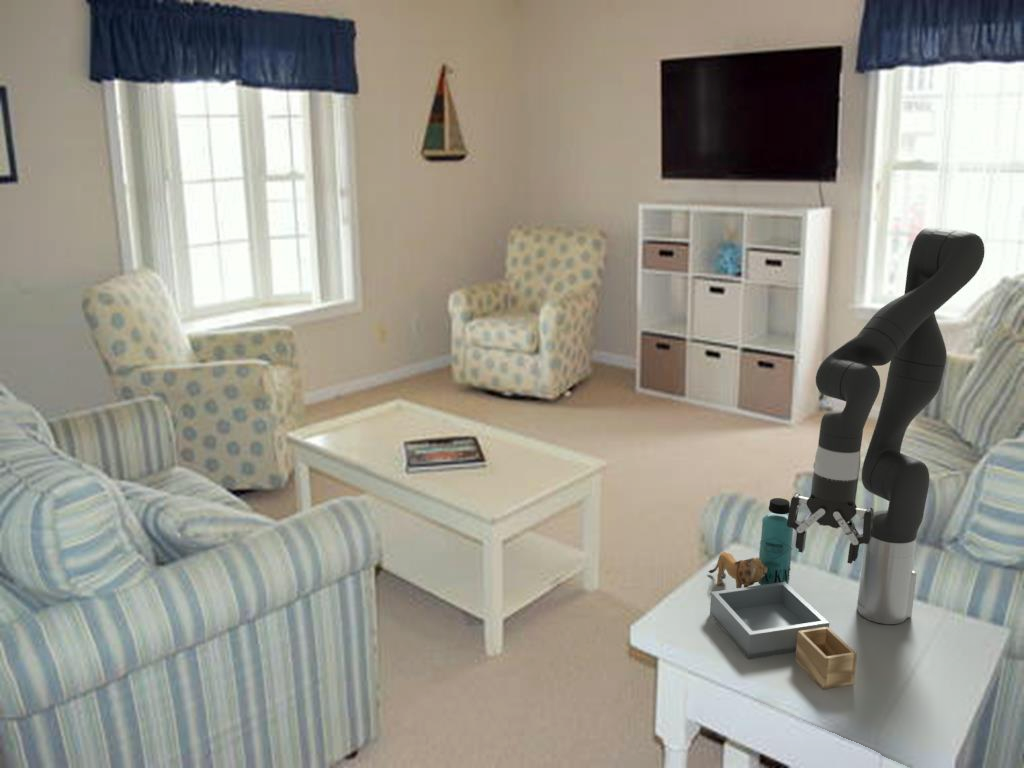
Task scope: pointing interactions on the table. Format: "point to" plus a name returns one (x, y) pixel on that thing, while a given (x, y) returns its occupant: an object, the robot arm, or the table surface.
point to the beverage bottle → (776, 543)
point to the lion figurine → (740, 570)
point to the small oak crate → (825, 657)
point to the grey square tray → (764, 618)
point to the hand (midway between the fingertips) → (825, 556)
